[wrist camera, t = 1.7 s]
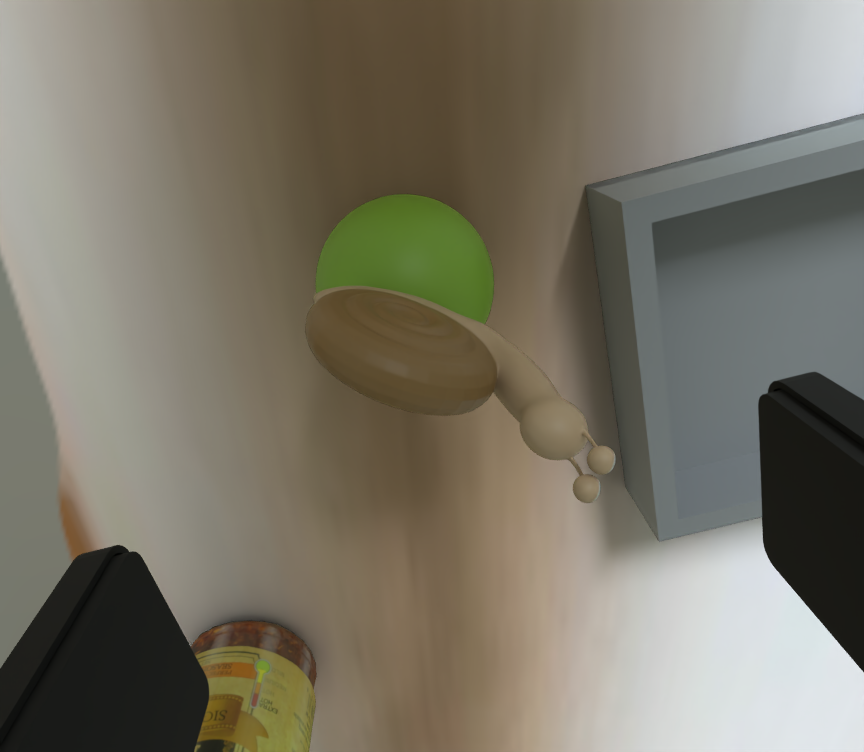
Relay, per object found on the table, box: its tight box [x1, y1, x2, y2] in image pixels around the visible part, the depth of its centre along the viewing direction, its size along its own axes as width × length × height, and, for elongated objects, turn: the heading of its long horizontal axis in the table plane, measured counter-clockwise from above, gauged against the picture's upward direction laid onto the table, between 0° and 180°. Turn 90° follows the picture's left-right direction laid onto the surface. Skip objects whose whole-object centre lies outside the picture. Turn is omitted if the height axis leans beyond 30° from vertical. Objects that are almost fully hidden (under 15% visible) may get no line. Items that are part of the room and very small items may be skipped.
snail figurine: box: [305, 194, 616, 503], centre depth 17 cm, size 5×6×12 cm
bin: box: [586, 113, 864, 542], centre depth 22 cm, size 13×14×4 cm
